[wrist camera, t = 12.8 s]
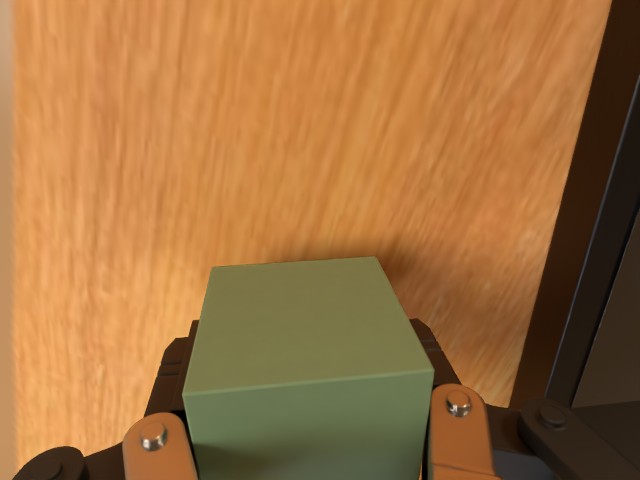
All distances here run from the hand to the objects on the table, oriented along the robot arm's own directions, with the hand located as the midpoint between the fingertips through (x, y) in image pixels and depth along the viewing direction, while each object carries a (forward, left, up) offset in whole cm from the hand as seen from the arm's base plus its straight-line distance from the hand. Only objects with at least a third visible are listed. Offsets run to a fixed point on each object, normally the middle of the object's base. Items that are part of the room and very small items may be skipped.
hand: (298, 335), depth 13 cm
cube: (0, 0, 0) cm, 0 cm away
